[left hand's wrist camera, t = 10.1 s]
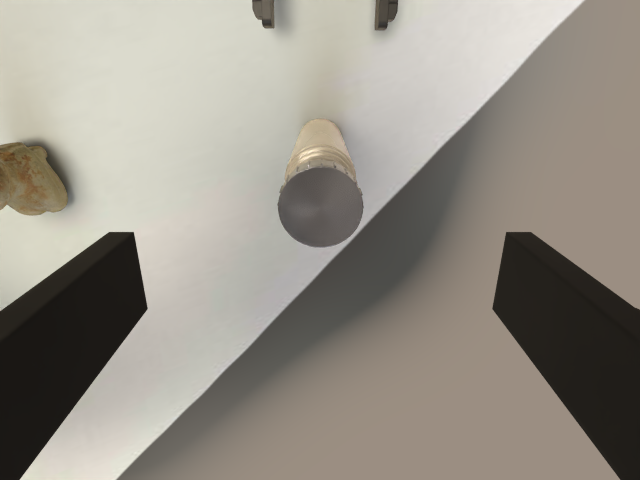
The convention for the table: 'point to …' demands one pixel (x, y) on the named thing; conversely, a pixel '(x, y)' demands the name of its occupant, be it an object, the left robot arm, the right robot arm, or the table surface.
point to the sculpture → (29, 181)
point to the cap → (320, 203)
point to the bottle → (320, 146)
